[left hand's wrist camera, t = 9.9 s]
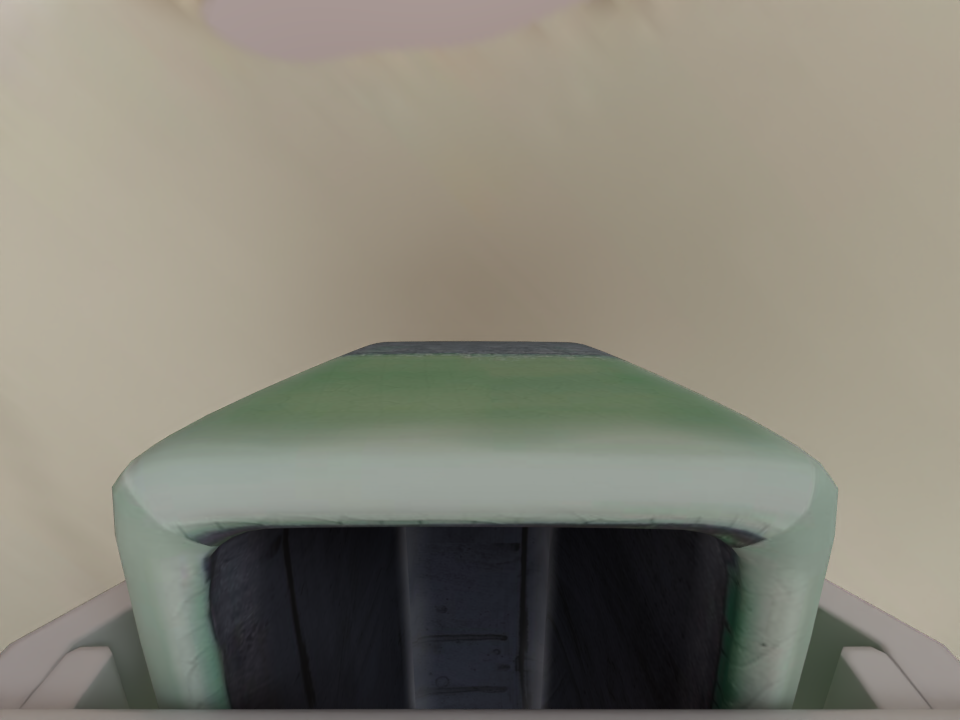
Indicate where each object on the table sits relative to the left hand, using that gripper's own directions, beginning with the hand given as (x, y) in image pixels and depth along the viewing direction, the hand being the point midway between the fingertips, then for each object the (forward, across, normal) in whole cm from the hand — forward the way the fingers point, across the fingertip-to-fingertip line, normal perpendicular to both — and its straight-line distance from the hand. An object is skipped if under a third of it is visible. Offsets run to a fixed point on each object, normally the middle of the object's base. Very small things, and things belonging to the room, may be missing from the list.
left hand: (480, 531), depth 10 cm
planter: (+3, 0, -10) cm, 10 cm away
